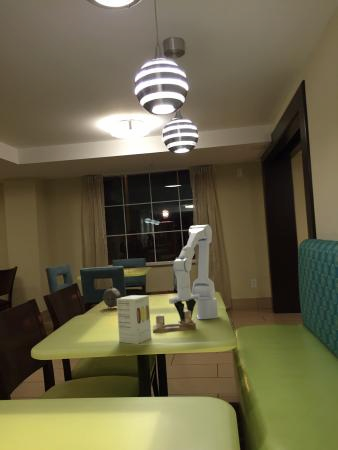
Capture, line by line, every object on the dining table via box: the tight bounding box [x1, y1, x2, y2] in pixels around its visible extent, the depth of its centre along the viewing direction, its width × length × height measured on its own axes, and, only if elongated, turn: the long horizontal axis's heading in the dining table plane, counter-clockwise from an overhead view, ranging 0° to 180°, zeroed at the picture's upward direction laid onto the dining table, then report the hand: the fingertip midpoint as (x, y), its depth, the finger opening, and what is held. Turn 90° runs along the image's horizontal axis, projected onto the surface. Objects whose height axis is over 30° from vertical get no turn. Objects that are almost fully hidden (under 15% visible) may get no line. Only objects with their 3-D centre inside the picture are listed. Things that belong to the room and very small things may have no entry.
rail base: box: [152, 313, 197, 334], centre depth 155 cm, size 18×8×6 cm, turn 93°
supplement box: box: [116, 294, 152, 345], centre depth 142 cm, size 10×9×17 cm
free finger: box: [179, 308, 193, 324], centre depth 156 cm, size 4×4×5 cm
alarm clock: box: [102, 281, 122, 310], centre depth 215 cm, size 11×5×16 cm, turn 58°
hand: (186, 318), depth 156 cm, fingers closed on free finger, 3 cm apart
